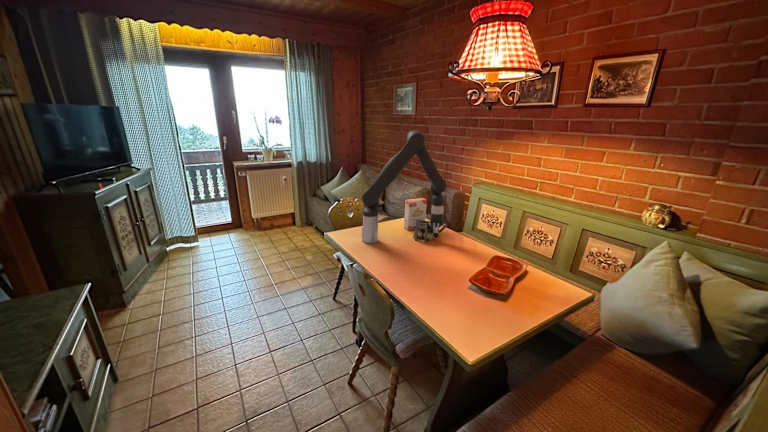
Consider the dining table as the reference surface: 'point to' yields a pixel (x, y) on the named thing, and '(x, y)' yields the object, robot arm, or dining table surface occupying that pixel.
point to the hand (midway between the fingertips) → (436, 237)
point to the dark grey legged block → (422, 229)
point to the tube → (422, 234)
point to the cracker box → (414, 212)
